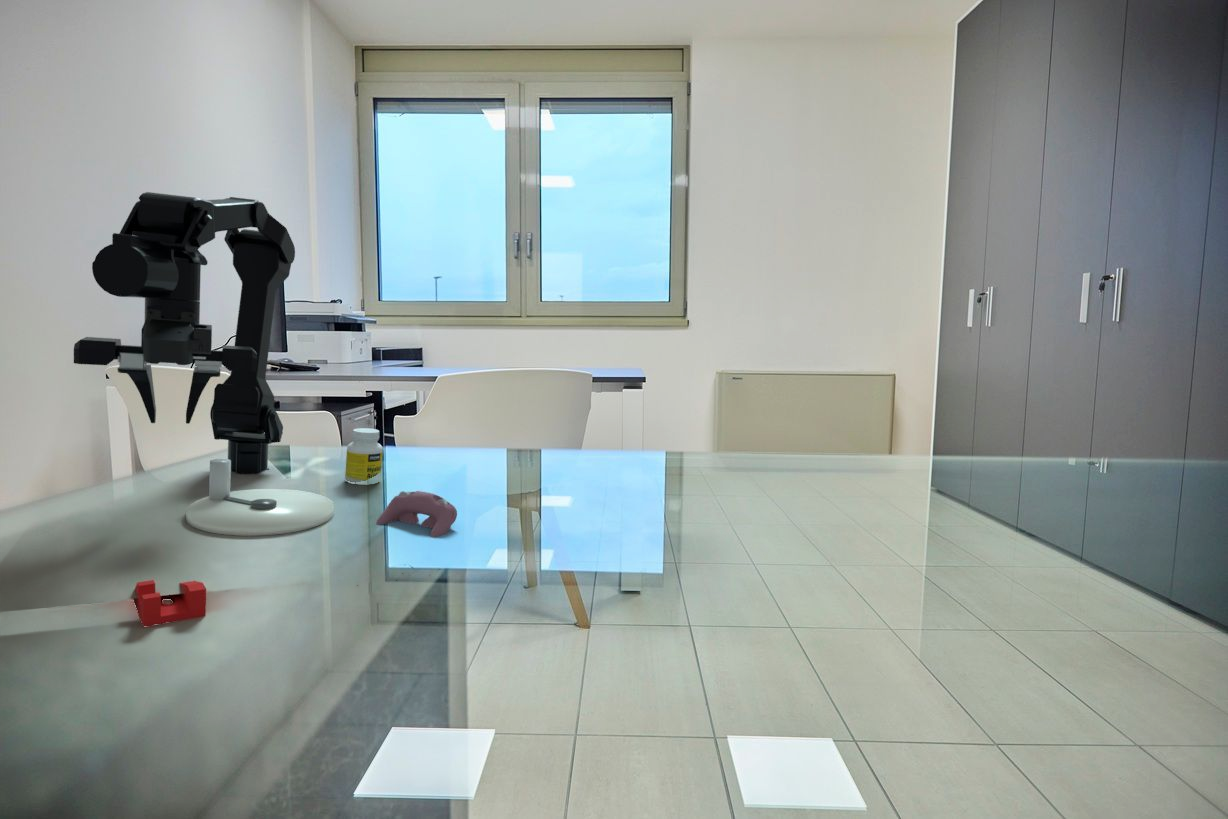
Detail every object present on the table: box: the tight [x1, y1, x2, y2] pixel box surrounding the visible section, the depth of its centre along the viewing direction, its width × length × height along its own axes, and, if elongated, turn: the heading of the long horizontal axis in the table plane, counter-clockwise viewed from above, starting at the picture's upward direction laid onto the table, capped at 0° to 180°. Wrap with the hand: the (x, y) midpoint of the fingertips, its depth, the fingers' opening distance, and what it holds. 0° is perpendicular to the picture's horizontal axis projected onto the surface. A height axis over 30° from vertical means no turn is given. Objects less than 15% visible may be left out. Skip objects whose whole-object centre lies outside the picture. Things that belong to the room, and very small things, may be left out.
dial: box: [185, 458, 335, 537], centre depth 87 cm, size 17×17×6 cm
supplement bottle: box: [344, 427, 384, 483], centre depth 108 cm, size 5×5×10 cm
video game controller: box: [375, 490, 458, 538], centre depth 90 cm, size 10×5×7 cm, turn 71°
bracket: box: [133, 579, 207, 627], centre depth 64 cm, size 6×5×3 cm
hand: (170, 422), depth 85 cm, fingers open, 3 cm apart
